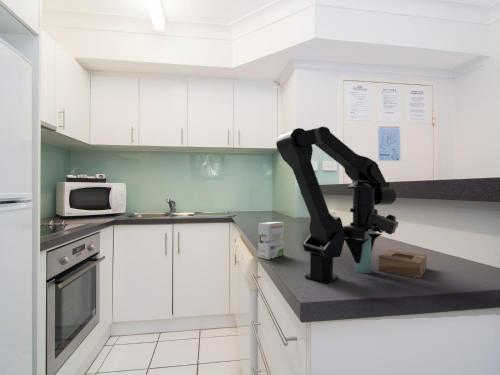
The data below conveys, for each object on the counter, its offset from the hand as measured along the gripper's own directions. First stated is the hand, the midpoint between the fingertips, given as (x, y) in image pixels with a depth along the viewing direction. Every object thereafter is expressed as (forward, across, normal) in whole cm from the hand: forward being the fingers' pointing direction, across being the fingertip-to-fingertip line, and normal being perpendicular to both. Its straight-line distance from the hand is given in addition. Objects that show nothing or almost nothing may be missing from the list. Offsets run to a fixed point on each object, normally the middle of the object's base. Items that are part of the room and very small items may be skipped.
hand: (363, 259), depth 72 cm
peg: (+3, 0, 0) cm, 3 cm away
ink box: (+3, -5, +29) cm, 30 cm away
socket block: (+3, +10, -8) cm, 13 cm away
